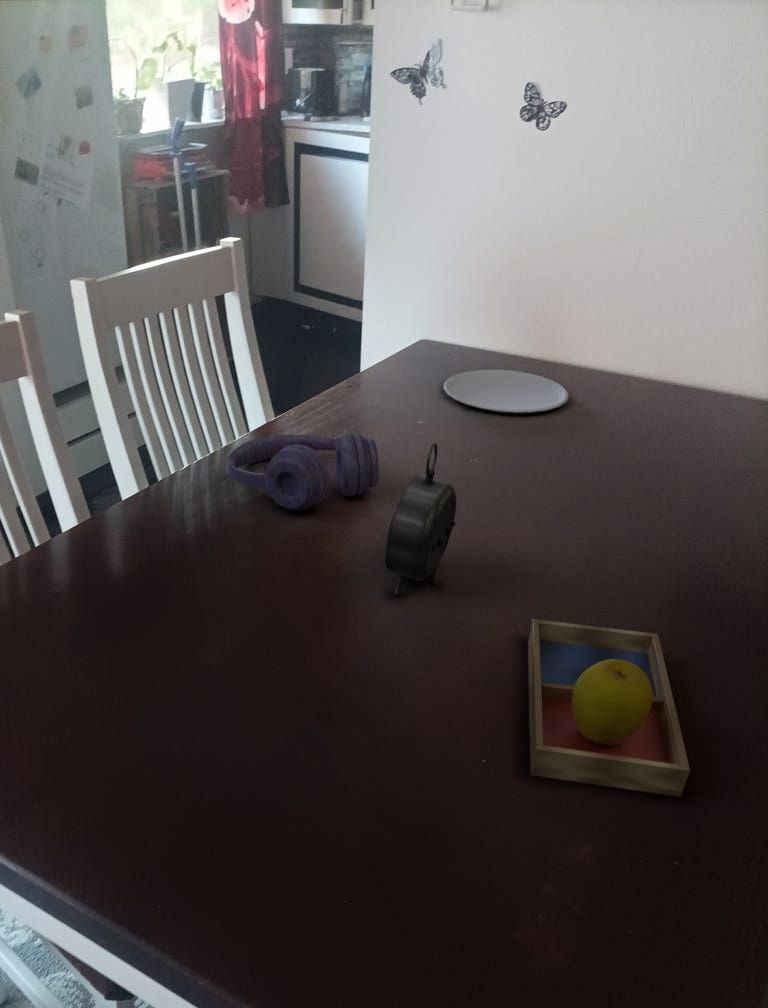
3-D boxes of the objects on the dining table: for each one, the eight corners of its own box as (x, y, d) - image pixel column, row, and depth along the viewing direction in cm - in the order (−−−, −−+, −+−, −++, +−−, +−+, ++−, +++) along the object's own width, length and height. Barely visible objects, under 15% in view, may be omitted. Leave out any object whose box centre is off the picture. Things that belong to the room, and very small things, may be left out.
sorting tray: (650, 658, 90) (658, 633, 88) (680, 797, 73) (690, 770, 72) (527, 643, 91) (532, 618, 90) (530, 775, 75) (536, 748, 74)
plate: (417, 393, 153) (418, 386, 152) (491, 368, 165) (492, 361, 164) (519, 428, 140) (520, 420, 140) (592, 398, 152) (593, 390, 151)
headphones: (401, 493, 119) (315, 463, 134) (400, 431, 115) (312, 408, 130) (285, 526, 110) (208, 491, 126) (280, 461, 107) (201, 432, 122)
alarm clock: (411, 554, 107) (425, 422, 97) (455, 564, 105) (474, 431, 95) (378, 597, 98) (389, 458, 89) (424, 609, 96) (441, 468, 87)
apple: (585, 766, 75) (605, 690, 70) (551, 718, 80) (568, 644, 76) (654, 756, 76) (679, 680, 72) (616, 709, 81) (637, 636, 77)
